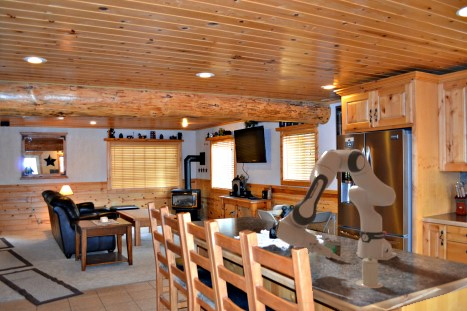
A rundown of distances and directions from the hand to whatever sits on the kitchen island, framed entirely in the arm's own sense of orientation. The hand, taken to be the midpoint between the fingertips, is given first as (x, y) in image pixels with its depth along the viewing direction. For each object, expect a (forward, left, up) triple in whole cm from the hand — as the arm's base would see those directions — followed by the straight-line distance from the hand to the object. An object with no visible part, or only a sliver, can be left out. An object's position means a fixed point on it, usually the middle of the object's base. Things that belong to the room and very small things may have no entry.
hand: (337, 257), depth 179 cm
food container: (-28, -26, -10) cm, 39 cm away
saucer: (-3, +14, -9) cm, 17 cm away
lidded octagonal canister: (-3, +14, -9) cm, 17 cm away
